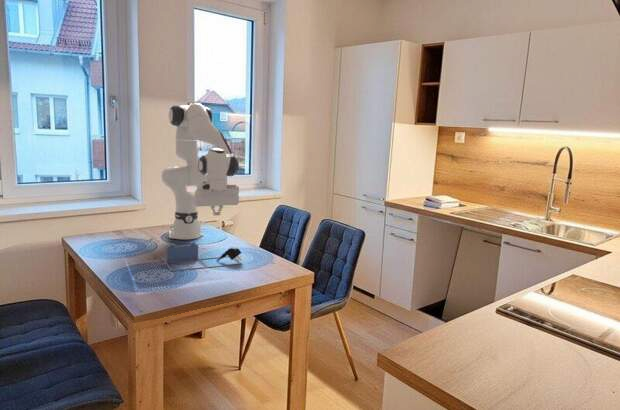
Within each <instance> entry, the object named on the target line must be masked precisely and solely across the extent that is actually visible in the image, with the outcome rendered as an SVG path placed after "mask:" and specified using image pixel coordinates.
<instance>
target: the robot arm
mask: <svg viewBox="0 0 620 410" xmlns="http://www.w3.org/2000/svg"><path fill="white" fill-rule="evenodd" d="M168 119H169V123H170V124H171V125H172V126H176V130H175V155H176V156H177V157H178V158H179V159H180V160H182V161H185V162H186V165H187V166H186V165H185V166H184V165H183V166H182V165H181V166H180V165H177V166H175V165H174V166H167V167H166V168H164V169H163V170H162V172H161V181H162V182H163V184H164V185H165V186H167V187H168V189H170V190H171V192H173V193H172V194H173V196H174V198H175V200H174V201H175V212H174V218H175V219H174V220H173V222H172V223H171V224H169V229H171V230H169V231H168V238H169V239H176V240H194V239H195V240H196V239H199V238H200V237H204V233H202V232H201V230H202V229H201V221H200V220H199V213H198V207H210V209H211V211H212V215H213V216H215V217H216V216H221V211H222V210H223V208H224V206H237V205H239V204H240V196H239V193H240V187H239V186H238V185H237V184H228V177H233V176H235V175H236V174H237V172H239V168H240V164H239V161H238V159H237V157H236V156H235V154H234V153H233V152H232V150H231V147H230V146H229V144H228V142H227V139H225V138H226V137H225V136H224V135H223V133H222V132H221V131H220V130H219V129H218V128H217V127H215V126H214V125H213V123H212V122H213V112H212V110H211V109H210V108H209V107H206V106H205V105H202V104H201V103H192V104H190V105H178V104H177V105H172V106H171V107H170V108H169V111H168ZM198 141H200V142H204V143H207V144H210V145H213V146H214V147H212V148H209V149H208V153H207V154H205V155H204V154H203V155H202V156H200V158H199V154H198ZM187 187H195V188H196V190H195V191H194V194H193V193H191V192H189V191H187ZM216 206H217V207H218V210H215V208H216Z"/></svg>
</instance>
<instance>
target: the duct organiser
mask: <svg viewBox="0 0 620 410" xmlns="http://www.w3.org/2000/svg"><path fill="white" fill-rule="evenodd" d="M220 257H221V256H217V257H216V256H215V257H205V258H199V244H197V243H196V242H195V241H190V244H185V245H176V244H175V243H169V244H168V246H166V261H164V264H165V266H166V267H167V269H168V270H169V272H179V271H180V272H181V271H190V270H201V269H208V268H219V267H228V266H229V267H230V266H238V265H243V264H242V262H238V261H237V260H236V258H234V259H233V260H235V262H237V263H229V264H221V265H220V264H219V265H210V266H208V265H207V264H206V262H204V260H212V259H214V260H215V259H219V258H220ZM224 258H229V256H228V255H227V256H225V257H224ZM224 258H223V259H224ZM190 261H192V262H193V261H200V263H201V264H202V265H203V266H201V267H193V268H191V267H190V268H181V269H172V268H171V267H170V265H169V264H171V263H182V262H183V263H184V262H190Z"/></svg>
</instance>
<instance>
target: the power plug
mask: <svg viewBox="0 0 620 410" xmlns="http://www.w3.org/2000/svg"><path fill="white" fill-rule="evenodd" d="M241 253H242V251H241V250H240V248H238V247H233V246H232V247H230V248H228V249H227V250H225V251H224V252H223V253H222V254H221V256H219V257H220V258H217V260H216V262H219V261H220V260H222V259H224V257H225V256H229V257H228V258H229V259H230V260H231V261H233V260H234V258H236V260H237V261H238V262H240V261H242V260H243V259H242V258H241V256H240V255H241ZM225 258H226V257H225ZM236 260H235V261H236ZM237 261H236V262H237ZM238 262H237V263H238Z"/></svg>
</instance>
